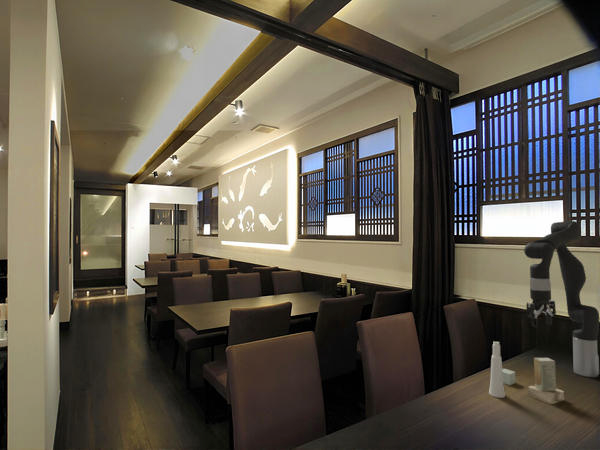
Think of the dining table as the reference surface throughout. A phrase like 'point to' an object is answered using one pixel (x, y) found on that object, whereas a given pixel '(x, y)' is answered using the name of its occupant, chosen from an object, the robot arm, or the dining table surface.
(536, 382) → the skincare box
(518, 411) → the dining table surface
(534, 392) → the maple block
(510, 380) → the greygreen block
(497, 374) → the cosmetic bottle
